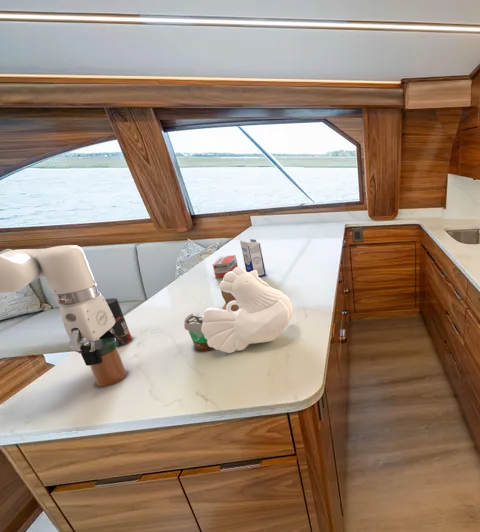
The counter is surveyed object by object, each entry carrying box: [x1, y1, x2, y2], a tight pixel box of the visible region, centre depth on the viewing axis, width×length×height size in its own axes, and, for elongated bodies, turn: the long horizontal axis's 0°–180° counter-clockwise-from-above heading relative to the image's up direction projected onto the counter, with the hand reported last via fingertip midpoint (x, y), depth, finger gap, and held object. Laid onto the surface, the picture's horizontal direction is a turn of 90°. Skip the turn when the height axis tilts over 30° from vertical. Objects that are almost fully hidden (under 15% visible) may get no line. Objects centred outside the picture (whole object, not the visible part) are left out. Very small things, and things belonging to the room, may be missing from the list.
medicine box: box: [211, 254, 239, 279], centre depth 162 cm, size 15×8×8 cm, turn 16°
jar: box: [89, 347, 127, 387], centre depth 80 cm, size 6×6×10 cm
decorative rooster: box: [201, 266, 294, 354], centre depth 95 cm, size 25×16×25 cm
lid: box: [84, 337, 118, 355], centre depth 79 cm, size 7×7×2 cm
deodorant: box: [104, 297, 133, 348], centre depth 97 cm, size 6×6×15 cm
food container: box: [183, 313, 215, 352], centre depth 94 cm, size 12×6×10 cm, turn 73°
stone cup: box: [220, 278, 239, 311], centre depth 117 cm, size 15×12×15 cm
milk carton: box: [239, 238, 267, 278], centre depth 154 cm, size 7×7×20 cm
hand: (103, 355), depth 80 cm, fingers closed on lid, 6 cm apart
